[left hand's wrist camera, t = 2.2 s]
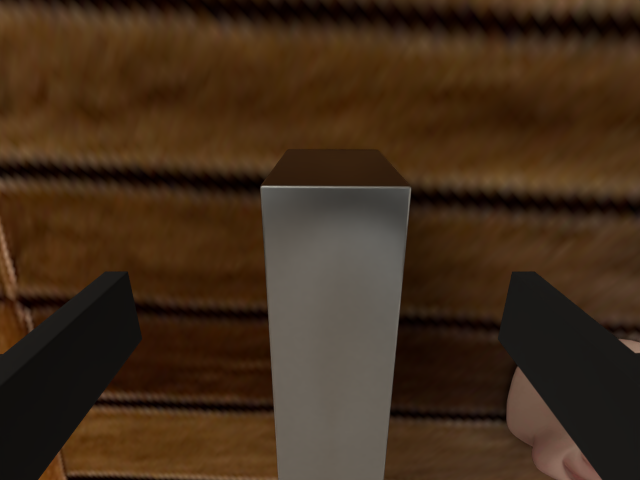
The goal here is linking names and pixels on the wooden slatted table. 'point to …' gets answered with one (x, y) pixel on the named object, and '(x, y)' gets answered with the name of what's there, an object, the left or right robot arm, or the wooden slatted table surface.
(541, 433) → the anatomical model
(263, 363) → the wooden slatted table surface
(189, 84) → the wooden slatted table surface
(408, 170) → the wooden slatted table surface
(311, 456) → the bar
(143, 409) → the wooden slatted table surface
